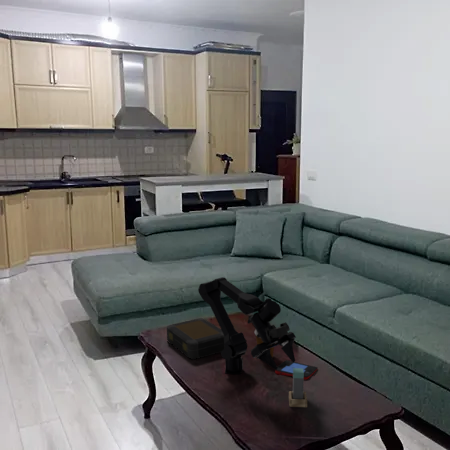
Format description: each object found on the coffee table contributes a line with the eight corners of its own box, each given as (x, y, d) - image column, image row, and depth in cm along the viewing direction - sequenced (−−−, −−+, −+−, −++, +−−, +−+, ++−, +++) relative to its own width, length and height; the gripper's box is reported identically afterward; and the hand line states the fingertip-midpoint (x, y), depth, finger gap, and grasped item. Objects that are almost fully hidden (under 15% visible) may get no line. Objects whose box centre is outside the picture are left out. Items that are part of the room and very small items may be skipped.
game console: (318, 370, 201) (318, 364, 201) (306, 383, 191) (306, 377, 190) (285, 362, 209) (285, 357, 208) (272, 374, 198) (272, 369, 197)
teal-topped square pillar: (293, 404, 173) (293, 372, 171) (292, 399, 177) (293, 368, 175) (303, 405, 173) (303, 373, 171) (302, 400, 176) (302, 368, 174)
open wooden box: (289, 408, 172) (289, 400, 172) (288, 399, 178) (288, 391, 178) (307, 408, 172) (307, 400, 171) (305, 399, 178) (305, 391, 177)
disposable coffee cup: (251, 359, 211) (251, 332, 208) (258, 350, 219) (258, 324, 217) (273, 362, 207) (273, 335, 205) (279, 353, 216) (279, 327, 214)
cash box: (231, 350, 220) (231, 333, 219) (191, 361, 210) (190, 343, 208) (203, 331, 241) (203, 316, 240) (165, 341, 231) (165, 325, 229)
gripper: (256, 323, 172) (279, 363, 166) (292, 310, 184) (315, 348, 178) (241, 338, 180) (262, 377, 173) (276, 325, 192) (298, 361, 185)
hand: (285, 365), depth 177 cm, fingers open, 9 cm apart
